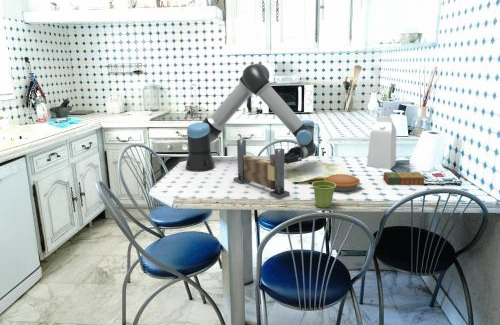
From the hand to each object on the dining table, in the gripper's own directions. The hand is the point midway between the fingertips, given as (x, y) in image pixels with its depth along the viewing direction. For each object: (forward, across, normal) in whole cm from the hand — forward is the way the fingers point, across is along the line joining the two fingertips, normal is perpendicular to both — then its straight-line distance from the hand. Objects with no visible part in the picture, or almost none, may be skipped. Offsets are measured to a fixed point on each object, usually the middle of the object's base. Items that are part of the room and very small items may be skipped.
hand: (273, 163), depth 192 cm
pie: (-8, -31, -9) cm, 33 cm away
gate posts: (+12, 0, -8) cm, 15 cm away
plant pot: (+17, -34, -8) cm, 39 cm away
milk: (-53, -34, -8) cm, 64 cm away
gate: (+12, -1, -6) cm, 14 cm away
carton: (-30, -52, -9) cm, 60 cm away
